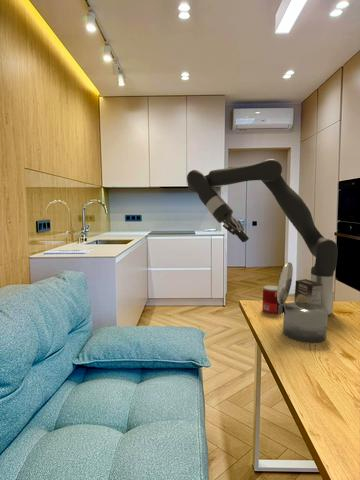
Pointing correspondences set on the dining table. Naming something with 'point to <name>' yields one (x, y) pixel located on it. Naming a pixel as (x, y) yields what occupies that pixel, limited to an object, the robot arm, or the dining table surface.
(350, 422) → the dining table surface
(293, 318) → the cooker pot
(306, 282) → the coffee box
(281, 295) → the lid
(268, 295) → the canned food
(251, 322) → the dining table surface
